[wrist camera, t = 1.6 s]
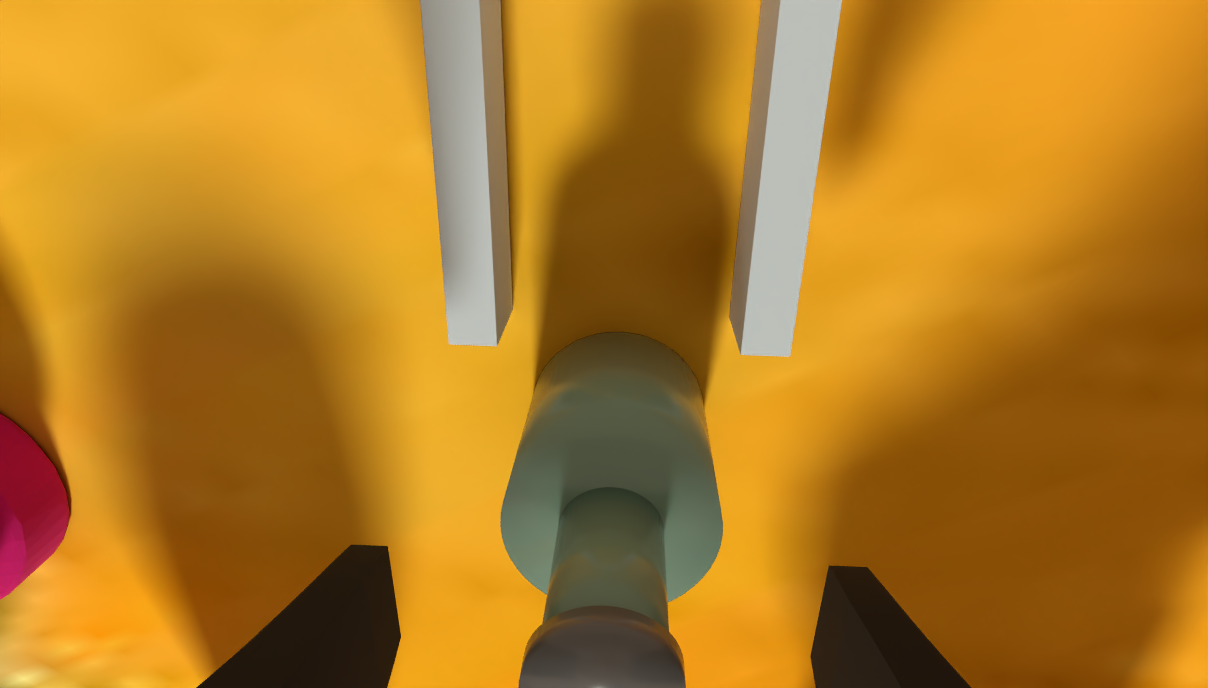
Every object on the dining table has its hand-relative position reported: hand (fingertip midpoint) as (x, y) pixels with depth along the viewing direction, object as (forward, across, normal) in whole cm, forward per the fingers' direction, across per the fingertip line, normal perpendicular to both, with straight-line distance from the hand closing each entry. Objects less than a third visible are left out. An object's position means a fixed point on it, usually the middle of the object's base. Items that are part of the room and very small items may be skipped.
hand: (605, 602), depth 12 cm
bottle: (+6, 0, 0) cm, 6 cm away
